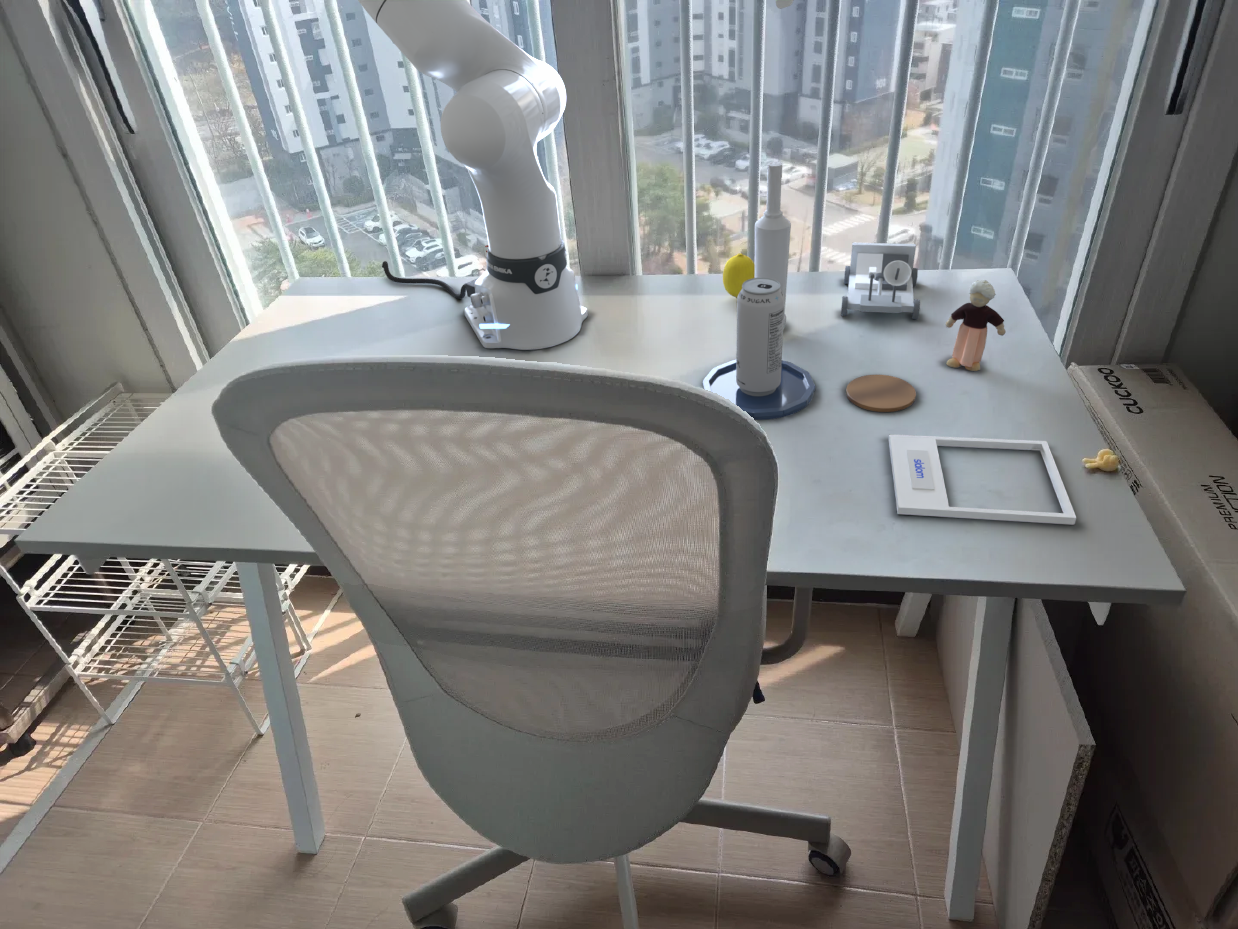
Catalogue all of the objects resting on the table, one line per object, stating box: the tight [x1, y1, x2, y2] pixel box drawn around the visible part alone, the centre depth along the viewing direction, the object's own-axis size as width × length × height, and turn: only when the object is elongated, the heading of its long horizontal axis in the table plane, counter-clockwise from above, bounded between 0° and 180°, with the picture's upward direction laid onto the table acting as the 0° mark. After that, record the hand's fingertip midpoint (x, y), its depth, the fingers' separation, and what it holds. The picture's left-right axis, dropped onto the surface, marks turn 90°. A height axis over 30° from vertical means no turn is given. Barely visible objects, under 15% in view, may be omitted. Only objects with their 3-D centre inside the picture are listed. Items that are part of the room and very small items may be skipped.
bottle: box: [754, 161, 792, 330], centre depth 126 cm, size 5×5×25 cm
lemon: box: [722, 252, 755, 299], centre depth 140 cm, size 6×6×8 cm
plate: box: [701, 359, 816, 421], centre depth 117 cm, size 15×15×1 cm
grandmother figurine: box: [944, 279, 1007, 372], centre depth 116 cm, size 8×4×13 cm, turn 70°
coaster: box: [845, 374, 917, 413], centre depth 115 cm, size 9×9×1 cm
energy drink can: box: [735, 278, 785, 396], centre depth 113 cm, size 6×6×15 cm
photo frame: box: [888, 434, 1077, 526], centre depth 98 cm, size 15×1×18 cm
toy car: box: [840, 242, 921, 320], centre depth 135 cm, size 18×10×12 cm
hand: (791, 0), depth 97 cm, fingers open, 8 cm apart
